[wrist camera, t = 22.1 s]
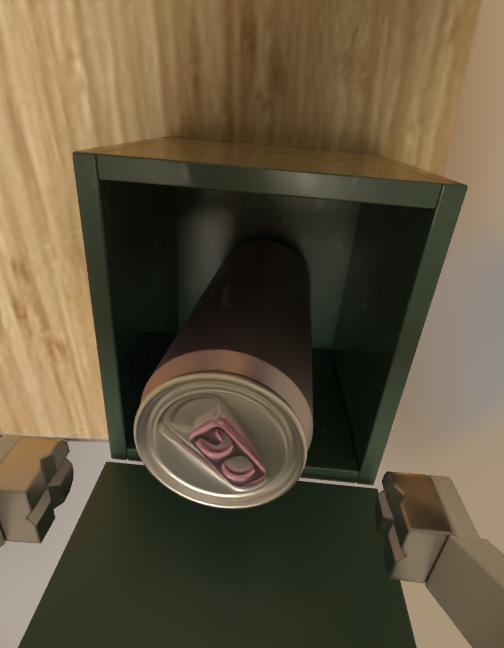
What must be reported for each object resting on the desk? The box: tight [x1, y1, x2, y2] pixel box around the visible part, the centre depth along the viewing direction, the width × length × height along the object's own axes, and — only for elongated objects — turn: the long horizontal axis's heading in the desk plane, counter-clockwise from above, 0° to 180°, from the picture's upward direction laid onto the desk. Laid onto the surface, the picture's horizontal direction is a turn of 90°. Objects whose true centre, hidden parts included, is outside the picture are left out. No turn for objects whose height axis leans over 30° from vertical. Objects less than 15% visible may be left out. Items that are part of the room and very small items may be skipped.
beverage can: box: [134, 240, 313, 509], centre depth 19 cm, size 6×6×15 cm
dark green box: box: [73, 137, 467, 485], centre depth 21 cm, size 14×13×12 cm
